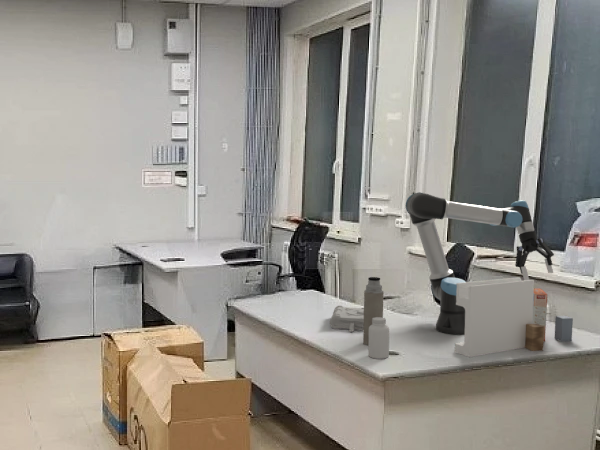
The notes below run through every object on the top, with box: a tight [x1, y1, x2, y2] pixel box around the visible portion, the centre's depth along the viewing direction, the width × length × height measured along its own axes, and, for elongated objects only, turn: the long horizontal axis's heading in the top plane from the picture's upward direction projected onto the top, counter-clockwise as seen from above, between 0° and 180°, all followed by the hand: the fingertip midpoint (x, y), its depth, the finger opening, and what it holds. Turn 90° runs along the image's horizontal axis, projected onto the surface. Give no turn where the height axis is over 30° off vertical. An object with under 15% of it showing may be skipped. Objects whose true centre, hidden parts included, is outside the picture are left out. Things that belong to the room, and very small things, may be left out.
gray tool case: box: [329, 305, 364, 333], centre depth 288 cm, size 19×28×8 cm
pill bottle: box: [367, 317, 390, 360], centre depth 238 cm, size 8×8×15 cm
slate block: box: [554, 315, 574, 342], centre depth 267 cm, size 5×5×10 cm
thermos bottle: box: [362, 276, 385, 347], centre depth 256 cm, size 8×8×28 cm
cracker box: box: [532, 287, 548, 342], centre depth 270 cm, size 14×6×21 cm, turn 168°
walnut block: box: [524, 324, 544, 352], centre depth 251 cm, size 5×5×10 cm
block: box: [454, 276, 535, 358], centre depth 250 cm, size 35×8×28 cm, turn 119°
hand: (538, 276), depth 282 cm, fingers open, 13 cm apart
